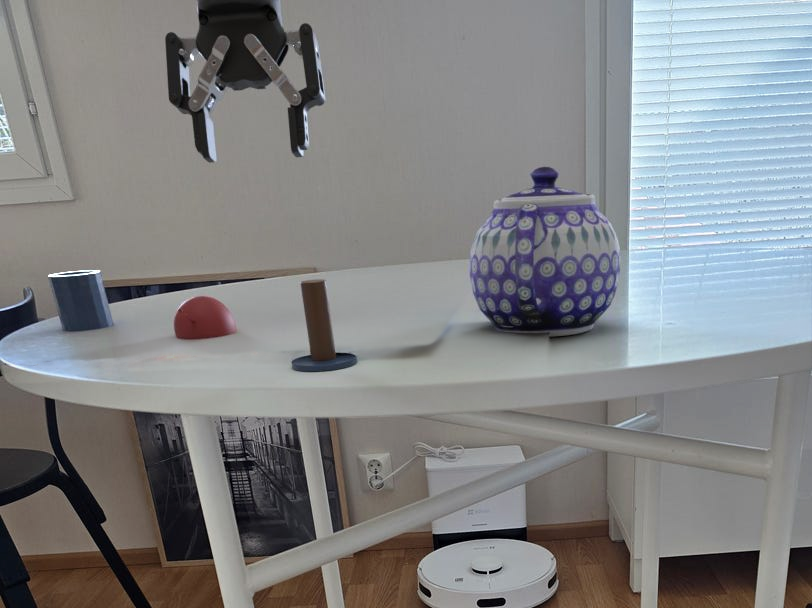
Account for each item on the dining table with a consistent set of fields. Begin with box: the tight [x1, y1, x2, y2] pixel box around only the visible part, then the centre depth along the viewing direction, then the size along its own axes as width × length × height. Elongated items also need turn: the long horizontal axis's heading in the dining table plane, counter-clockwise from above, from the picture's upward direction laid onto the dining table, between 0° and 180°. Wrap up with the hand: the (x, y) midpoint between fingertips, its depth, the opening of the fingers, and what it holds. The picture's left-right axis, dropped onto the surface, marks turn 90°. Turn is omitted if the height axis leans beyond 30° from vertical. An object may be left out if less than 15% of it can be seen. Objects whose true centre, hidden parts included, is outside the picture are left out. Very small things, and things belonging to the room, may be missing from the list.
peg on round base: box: [291, 278, 358, 372], centre depth 75 cm, size 6×6×8 cm
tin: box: [47, 269, 114, 332], centre depth 97 cm, size 5×5×8 cm
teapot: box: [469, 166, 621, 337], centre depth 86 cm, size 25×15×15 cm, turn 165°
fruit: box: [173, 295, 237, 341], centre depth 87 cm, size 6×6×8 cm
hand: (253, 157), depth 81 cm, fingers open, 8 cm apart
